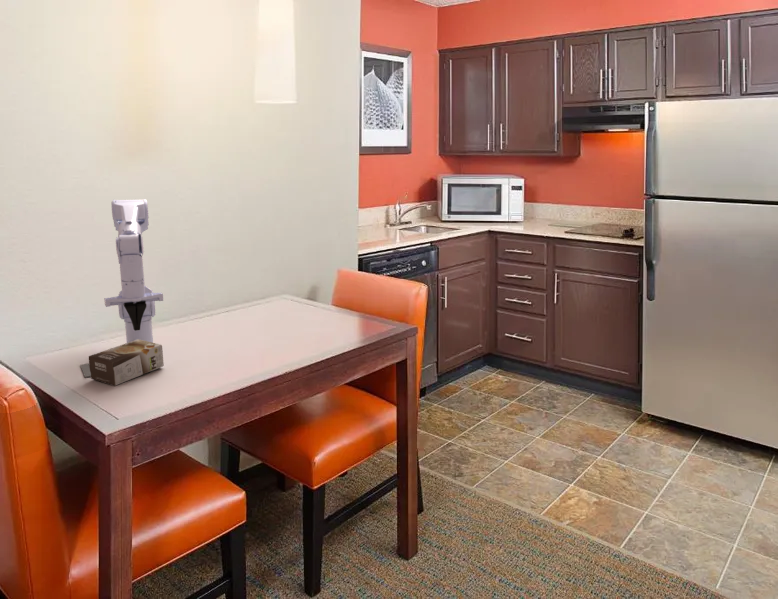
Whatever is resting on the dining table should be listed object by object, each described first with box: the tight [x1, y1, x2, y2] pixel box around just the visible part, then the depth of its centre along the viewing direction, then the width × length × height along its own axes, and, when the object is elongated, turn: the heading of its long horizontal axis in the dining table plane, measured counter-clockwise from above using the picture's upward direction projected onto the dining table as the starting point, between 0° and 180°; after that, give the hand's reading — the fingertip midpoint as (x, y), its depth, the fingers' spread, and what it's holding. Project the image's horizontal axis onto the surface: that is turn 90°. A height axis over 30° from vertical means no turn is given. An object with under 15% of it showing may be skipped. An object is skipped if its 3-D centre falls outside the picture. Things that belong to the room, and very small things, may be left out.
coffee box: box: [88, 339, 165, 387], centre depth 177 cm, size 9×6×16 cm
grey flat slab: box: [80, 362, 91, 379], centre depth 183 cm, size 11×14×1 cm
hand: (136, 329), depth 183 cm, fingers closed
